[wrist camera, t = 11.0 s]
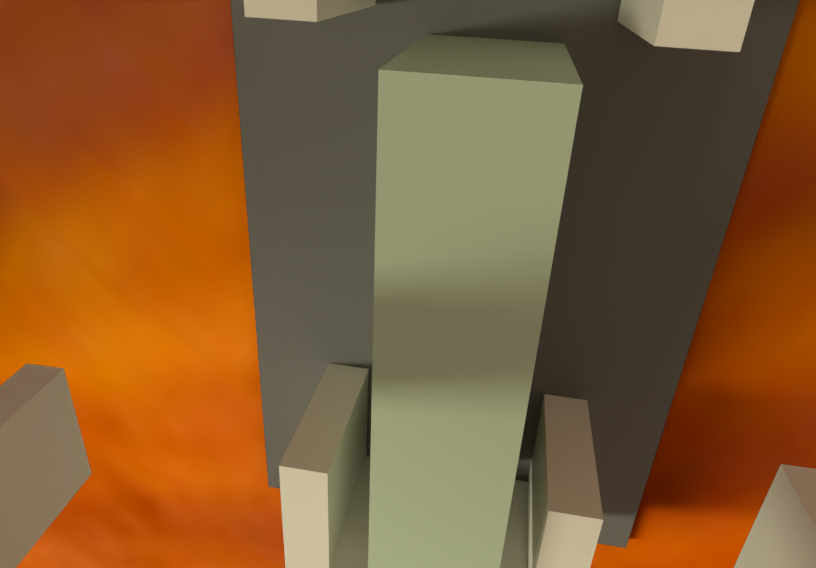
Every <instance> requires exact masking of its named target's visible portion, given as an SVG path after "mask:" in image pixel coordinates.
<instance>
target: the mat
mask: <svg viewBox="0 0 816 568" xmlns="http://www.w3.org/2000/svg"><path fill="white" fill-rule="evenodd" d="M798 3H799V0H755V1H754V5H753V8H752V12H751V15H750V19H749V22H748V26H747V29H746V33H745V36H744V40H743V43H742V47H741V50H740V52H730V51H716V50H702V49H688V48H674V47H660V46H653V45H652V44H650V43H649V42H647V41H646V40H644V39H643V38H641V37H640V36H638V35H637V34H635V33H634V32H632V31H631V30H629V29H628V28H626V27H625V26H623V25H622V24H620V23H619V22H617V20H618V15H619V10H620V5H621V0H376V5H375V6H371V7H368V8H364V9H361V10H357V11H354V12H350V13H347V14H343V15H340V16H336V17H333V18H329V19H326V20H322V21H319V22H310V21H296V20H282V19H268V18H254V17H245V13H244V0H231V12H232V25H233V38H234V50H235V63H236V76H237V89H238V101H239V114H240V127H241V140H242V152H243V165H244V178H245V191H246V203H247V216H248V229H249V242H250V255H251V267H252V280H253V293H254V306H255V318H256V331H257V344H258V357H259V369H260V382H261V395H262V408H263V421H264V433H265V446H266V459H267V472H268V484H269V487H275V488H280V476H279V464H280V462H281V460H282V458H283V456H284V454H285V452H286V450H287V448H288V446H289V444H290V442H291V440H292V438H293V436H294V434H295V432H296V430H297V428H298V426H299V424H300V422H301V420H302V418H303V416H304V414H305V412H306V410H307V408H308V405H309V403H310V401H311V399H312V397H313V395H314V393H315V391H316V389H317V387H318V385H319V383H320V381H321V379H322V377H323V375H324V373H325V371H326V369H327V367H328V365H329V363H331V364H338V365H345V366H352V367H359V368H366V369H369V372H368V414H367V456H370V449H371V402H372V354H373V307H374V260H375V213H376V165H377V118H378V71H379V69H380V68H381V67H383V66H384V65H385V64H387V63H388V62H390V61H391V60H392V59H394V58H395V57H396V56H398V55H399V54H401V53H402V52H403V51H405V50H406V49H408V48H409V47H410V46H412V45H413V44H414V43H416V42H417V41H419V40H420V39H421V38H423V37H424V36H425V35H427V34H432V35H447V36H462V37H476V38H491V39H506V40H521V41H536V42H551V43H564V44H565V46H566V48H567V50H568V53H569V55H570V57H571V59H572V62H573V64H574V66H575V68H576V70H577V73H578V75H579V77H580V79H581V82H582V84H583V88H582V94H581V99H580V105H579V111H578V117H577V123H576V128H575V134H574V140H573V146H572V152H571V157H570V163H569V169H568V175H567V181H566V187H565V192H564V198H563V204H562V210H561V216H560V221H559V227H558V233H557V239H556V245H555V250H554V256H553V262H552V268H551V274H550V279H549V285H548V291H547V297H546V303H545V309H544V314H543V320H542V326H541V332H540V338H539V343H538V349H537V355H536V361H535V367H534V372H533V378H532V384H531V390H530V396H529V401H528V407H527V413H526V419H525V425H524V430H523V436H522V442H521V448H520V454H519V460H518V465H517V471H516V477H515V480H520V481H526V482H528V476H529V471H530V466H531V461H532V456H533V450H534V445H535V440H536V435H537V430H538V424H539V419H540V414H541V409H542V404H543V398H544V394H547V395H554V396H561V397H568V398H575V399H582V400H587V402H588V410H589V417H590V424H591V432H592V439H593V446H594V454H595V461H596V468H597V476H598V483H599V491H600V498H601V505H602V513H603V524H602V527H601V531H600V534H599V538H598V541H597V543H600V544H606V545H612V546H617V547H623V548H626V546H627V543H628V539H629V536H630V533H631V530H632V527H633V524H634V520H635V517H636V514H637V511H638V508H639V505H640V502H641V498H642V495H643V492H644V489H645V486H646V483H647V479H648V476H649V473H650V470H651V467H652V464H653V461H654V457H655V454H656V451H657V448H658V445H659V442H660V438H661V435H662V432H663V429H664V426H665V423H666V420H667V416H668V413H669V410H670V407H671V404H672V401H673V398H674V394H675V391H676V388H677V385H678V382H679V379H680V375H681V372H682V369H683V366H684V363H685V360H686V357H687V353H688V350H689V347H690V344H691V341H692V338H693V334H694V331H695V328H696V325H697V322H698V319H699V316H700V312H701V309H702V306H703V303H704V300H705V297H706V293H707V290H708V287H709V284H710V281H711V278H712V275H713V271H714V268H715V265H716V262H717V259H718V256H719V252H720V249H721V246H722V243H723V240H724V237H725V234H726V230H727V227H728V224H729V221H730V218H731V215H732V211H733V208H734V205H735V202H736V199H737V196H738V193H739V189H740V186H741V183H742V180H743V177H744V174H745V171H746V167H747V164H748V161H749V158H750V155H751V152H752V148H753V145H754V142H755V139H756V136H757V133H758V130H759V126H760V123H761V120H762V117H763V114H764V111H765V107H766V104H767V101H768V98H769V95H770V92H771V89H772V85H773V82H774V79H775V76H776V73H777V70H778V66H779V63H780V60H781V57H782V54H783V51H784V48H785V44H786V41H787V38H788V35H789V32H790V29H791V25H792V22H793V19H794V16H795V13H796V10H797V7H798Z"/></svg>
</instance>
